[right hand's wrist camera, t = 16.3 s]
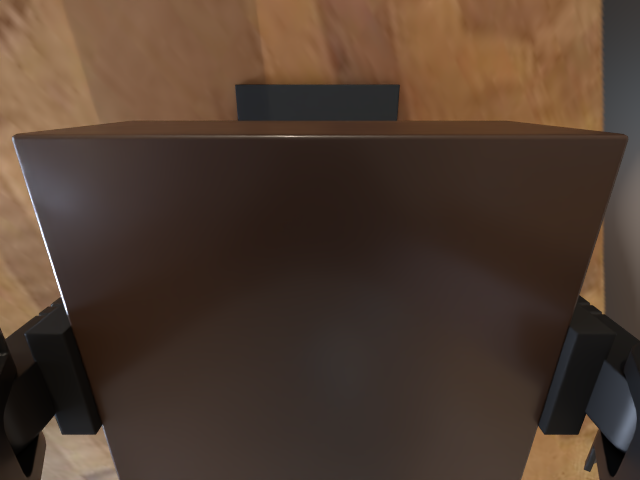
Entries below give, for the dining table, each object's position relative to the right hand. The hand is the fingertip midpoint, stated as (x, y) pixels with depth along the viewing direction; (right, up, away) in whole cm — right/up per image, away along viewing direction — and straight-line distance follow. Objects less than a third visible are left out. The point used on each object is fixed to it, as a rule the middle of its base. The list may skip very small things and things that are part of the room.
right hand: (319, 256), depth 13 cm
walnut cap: (0, -1, -2) cm, 2 cm away
